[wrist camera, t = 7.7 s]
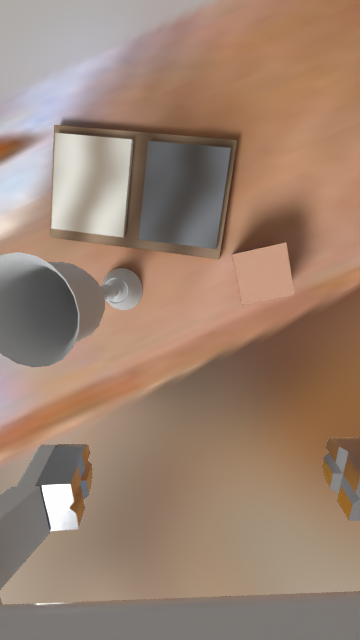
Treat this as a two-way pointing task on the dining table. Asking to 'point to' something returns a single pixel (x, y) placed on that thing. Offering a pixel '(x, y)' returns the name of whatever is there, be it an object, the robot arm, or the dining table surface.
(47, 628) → the robot arm
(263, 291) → the terracotta cube
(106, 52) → the dining table surface
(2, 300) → the chalice
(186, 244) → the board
